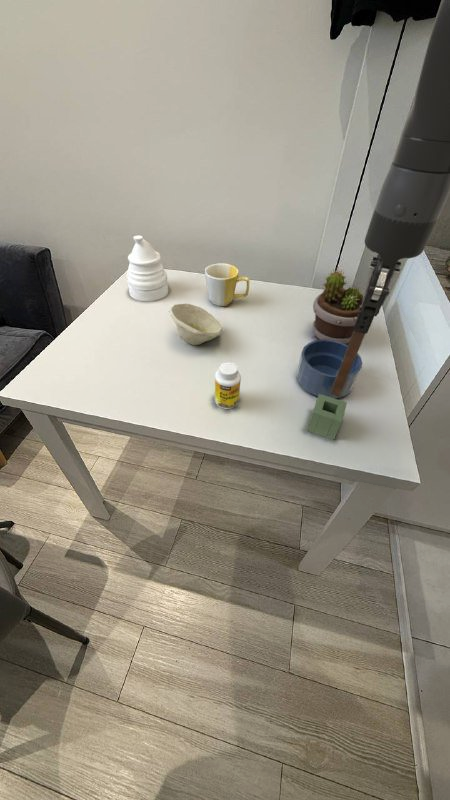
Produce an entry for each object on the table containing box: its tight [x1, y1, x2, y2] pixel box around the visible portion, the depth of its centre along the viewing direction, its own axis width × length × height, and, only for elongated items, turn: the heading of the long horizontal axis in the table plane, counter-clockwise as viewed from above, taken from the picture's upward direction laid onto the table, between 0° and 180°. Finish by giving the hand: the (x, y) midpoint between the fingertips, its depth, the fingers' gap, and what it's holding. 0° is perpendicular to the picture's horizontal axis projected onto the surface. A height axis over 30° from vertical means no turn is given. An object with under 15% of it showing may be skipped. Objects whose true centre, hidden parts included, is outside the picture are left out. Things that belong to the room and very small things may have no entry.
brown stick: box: [331, 331, 366, 398], centre depth 57 cm, size 2×2×20 cm
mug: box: [204, 262, 250, 307], centre depth 102 cm, size 14×10×10 cm
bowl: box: [168, 303, 224, 346], centre depth 88 cm, size 15×14×10 cm
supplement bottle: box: [214, 361, 242, 410], centre depth 72 cm, size 6×6×10 cm
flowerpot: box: [312, 266, 363, 345], centre depth 88 cm, size 14×15×20 cm
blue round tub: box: [295, 339, 363, 399], centre depth 79 cm, size 14×14×8 cm
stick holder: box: [306, 394, 348, 440], centre depth 69 cm, size 6×6×6 cm
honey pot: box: [126, 235, 169, 302], centre depth 103 cm, size 13×13×18 cm
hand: (361, 327), depth 53 cm, fingers closed on brown stick, 2 cm apart
